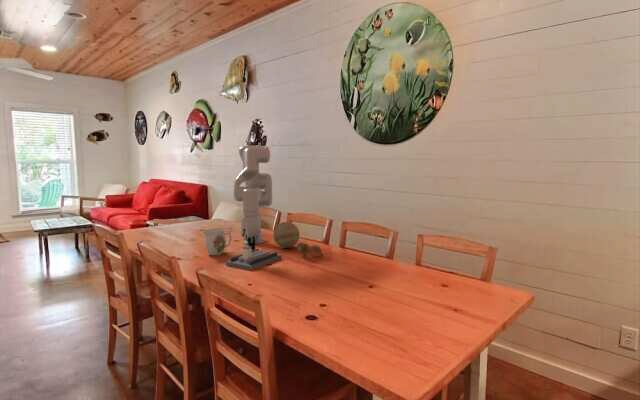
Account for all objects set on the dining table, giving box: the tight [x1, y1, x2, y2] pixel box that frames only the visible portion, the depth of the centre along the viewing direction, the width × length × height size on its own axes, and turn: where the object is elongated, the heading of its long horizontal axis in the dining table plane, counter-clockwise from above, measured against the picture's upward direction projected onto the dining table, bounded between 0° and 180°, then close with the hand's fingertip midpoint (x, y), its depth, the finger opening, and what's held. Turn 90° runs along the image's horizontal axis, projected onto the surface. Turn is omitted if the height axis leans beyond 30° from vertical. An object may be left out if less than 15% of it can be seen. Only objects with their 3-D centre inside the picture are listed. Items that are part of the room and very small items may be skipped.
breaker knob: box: [241, 245, 252, 261], centre depth 188 cm, size 3×3×7 cm
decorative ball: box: [273, 221, 300, 249], centre depth 221 cm, size 15×15×15 cm
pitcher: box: [201, 227, 233, 256], centre depth 208 cm, size 11×18×14 cm, turn 136°
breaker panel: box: [225, 248, 283, 271], centre depth 193 cm, size 24×16×4 cm, turn 149°
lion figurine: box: [296, 241, 324, 260], centre depth 200 cm, size 15×5×9 cm, turn 110°
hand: (251, 249), depth 191 cm, fingers closed
